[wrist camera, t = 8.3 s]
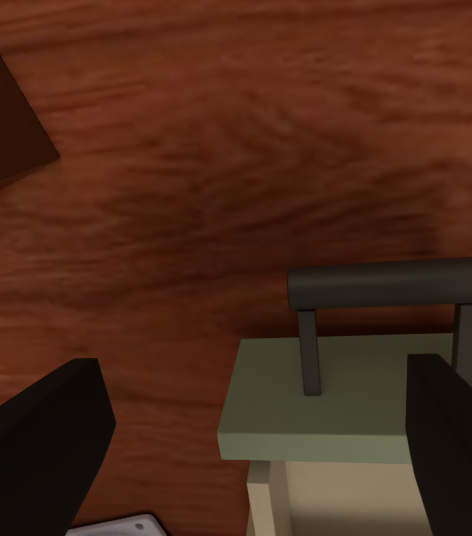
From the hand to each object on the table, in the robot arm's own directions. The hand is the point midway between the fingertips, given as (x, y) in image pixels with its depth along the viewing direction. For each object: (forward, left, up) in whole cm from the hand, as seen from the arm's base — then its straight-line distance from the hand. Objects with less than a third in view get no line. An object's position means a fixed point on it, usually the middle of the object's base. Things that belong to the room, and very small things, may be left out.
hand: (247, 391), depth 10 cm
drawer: (+1, -9, -9) cm, 13 cm away
